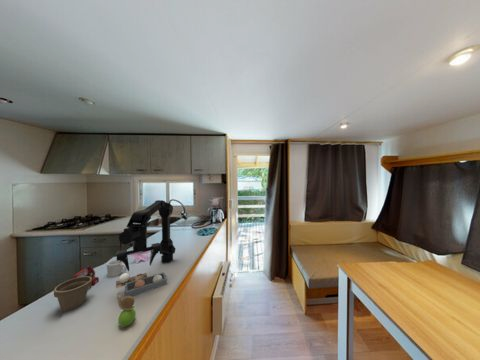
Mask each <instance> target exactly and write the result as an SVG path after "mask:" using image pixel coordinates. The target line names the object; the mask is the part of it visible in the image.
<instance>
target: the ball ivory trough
mask: <svg viewBox="0 0 480 360" xmlns="http://www.w3.org/2000/svg"><path fill="white" fill-rule="evenodd" d="M157 274H158V275H156V274H155V275H156V276H154V278H153V281H152V283H154V282H157V281H160V280H163V279H162V276H161V275H159V273H157Z"/></svg>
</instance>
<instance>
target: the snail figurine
mask: <svg viewBox="0 0 480 360" xmlns="http://www.w3.org/2000/svg"><path fill="white" fill-rule="evenodd" d="M120 293H121V292H120V291H118V292H117V293H116V295H117V297H116V299H117V305H118V307H119V308H120V310H122V311H121V312H120V314H119V316H118V319H117V321H118V325H119V326H120V327H124V328H125V327H127V326H130V325H131V324H132V323H133V321H134V320H135V319H136V315H137V313H136V310H135V309H134V308H135V306H134V305H135V298H134V296H132V297H131V296H127V297H123V299H122V294H121V295H120Z"/></svg>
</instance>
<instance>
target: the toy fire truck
mask: <svg viewBox="0 0 480 360" xmlns="http://www.w3.org/2000/svg"><path fill="white" fill-rule="evenodd" d="M83 276H89V277H91V278H92V284H91V285H90V287H89V288H88V291H89V290H90V289H91V288H92V286H93V287H94V286H95V285H96V284H98V282H100V281H99V277H98V276H96V271H95V269H94V268H93V267H92V266H91V265H87V266H86V267H85V268H83V269H81V270H80V271H79V272H77V273H76V274H74V275H73V277H72V279H74V278H78V277H83Z"/></svg>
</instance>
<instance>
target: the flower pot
mask: <svg viewBox="0 0 480 360" xmlns="http://www.w3.org/2000/svg"><path fill="white" fill-rule="evenodd" d="M91 284H92V278H91V277H89V276H83V277H78V278H74V279H73V278H72V279H68V280H66V281H63V282H61V283H60V284H58V285H56V286H55V288H54V289H53V297H54V298H56V299H57V301H58V305H59V307H60V310H61V312H62V313H65V312H67V311H71V310H75V309H76V308H78V307H80V306H81V305H82V304H83V303H84V302H85V300H86V297H87V294H88V291H89V290H88V288H89V287H90V285H91Z"/></svg>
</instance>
